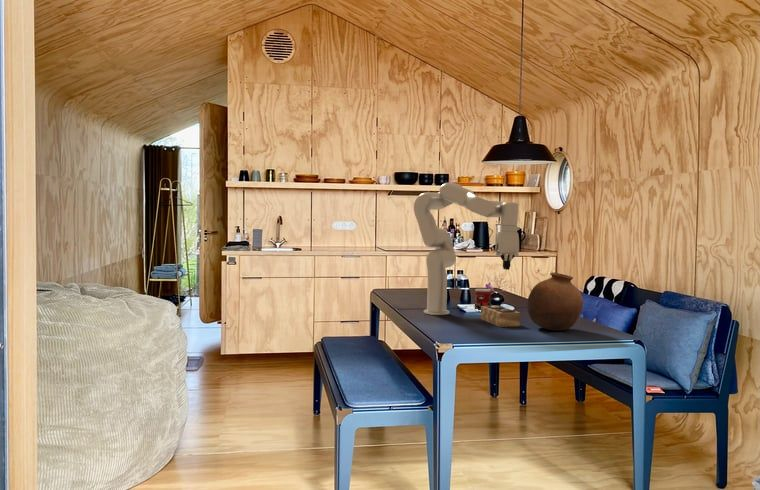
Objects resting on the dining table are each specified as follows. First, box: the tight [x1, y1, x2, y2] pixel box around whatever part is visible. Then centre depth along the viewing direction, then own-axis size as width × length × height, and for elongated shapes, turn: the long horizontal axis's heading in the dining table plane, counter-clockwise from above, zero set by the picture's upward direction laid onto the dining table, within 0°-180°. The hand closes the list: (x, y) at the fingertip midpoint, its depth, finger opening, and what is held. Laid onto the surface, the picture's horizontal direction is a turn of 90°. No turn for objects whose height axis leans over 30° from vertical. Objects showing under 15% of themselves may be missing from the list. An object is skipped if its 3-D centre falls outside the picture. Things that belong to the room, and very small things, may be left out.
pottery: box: [526, 271, 584, 332], centre depth 266 cm, size 23×23×25 cm
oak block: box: [480, 304, 521, 328], centre depth 281 cm, size 19×10×7 cm, turn 17°
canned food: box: [474, 288, 492, 310], centre depth 312 cm, size 8×8×11 cm
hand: (506, 269), depth 280 cm, fingers closed
